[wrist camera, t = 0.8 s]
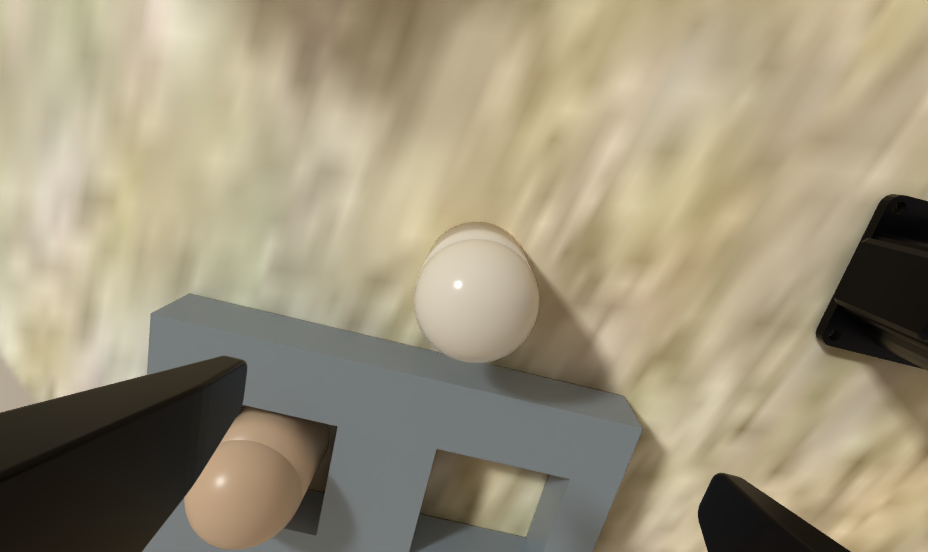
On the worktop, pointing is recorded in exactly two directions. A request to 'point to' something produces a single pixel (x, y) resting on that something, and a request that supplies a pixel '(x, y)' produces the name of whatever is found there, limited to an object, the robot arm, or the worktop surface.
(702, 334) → the worktop surface
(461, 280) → the egg
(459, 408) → the egg carton
